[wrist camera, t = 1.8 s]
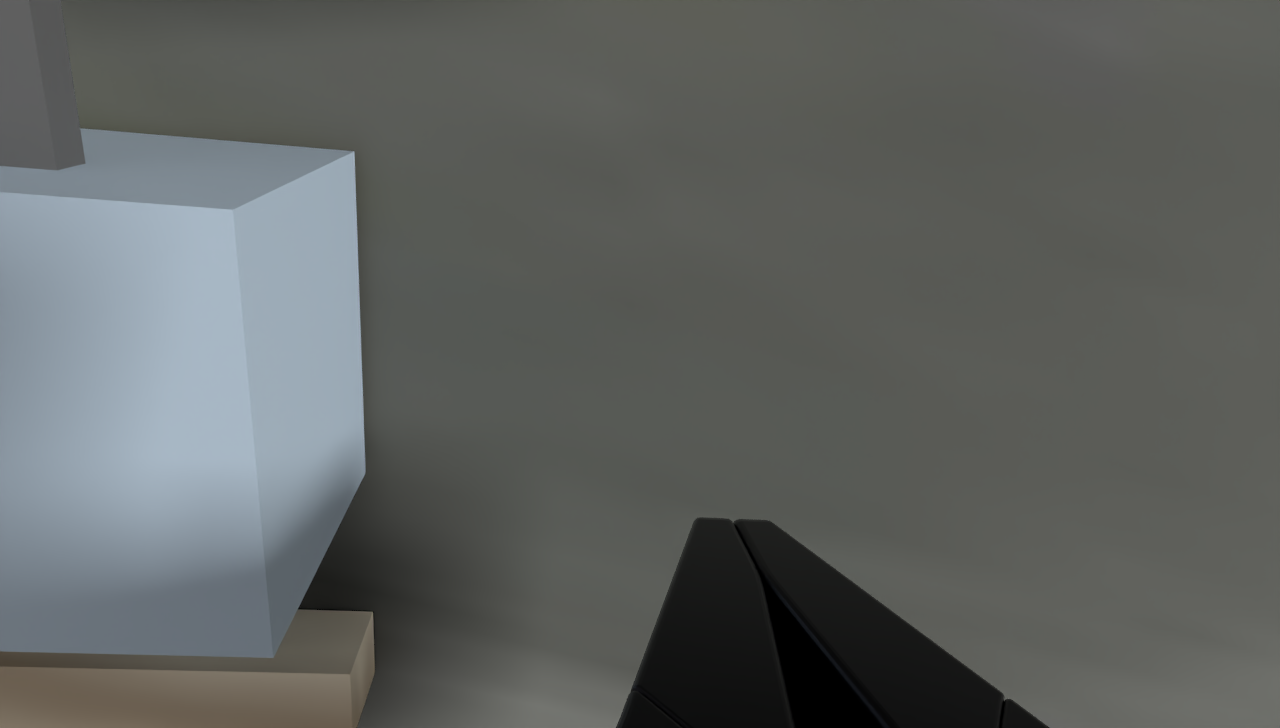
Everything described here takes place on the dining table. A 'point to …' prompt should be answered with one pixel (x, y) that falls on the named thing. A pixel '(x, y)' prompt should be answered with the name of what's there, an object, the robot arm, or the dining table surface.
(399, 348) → the dining table surface
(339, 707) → the beige grey patterned tray
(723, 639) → the robot arm
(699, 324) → the dining table surface
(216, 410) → the pale blue mallet
